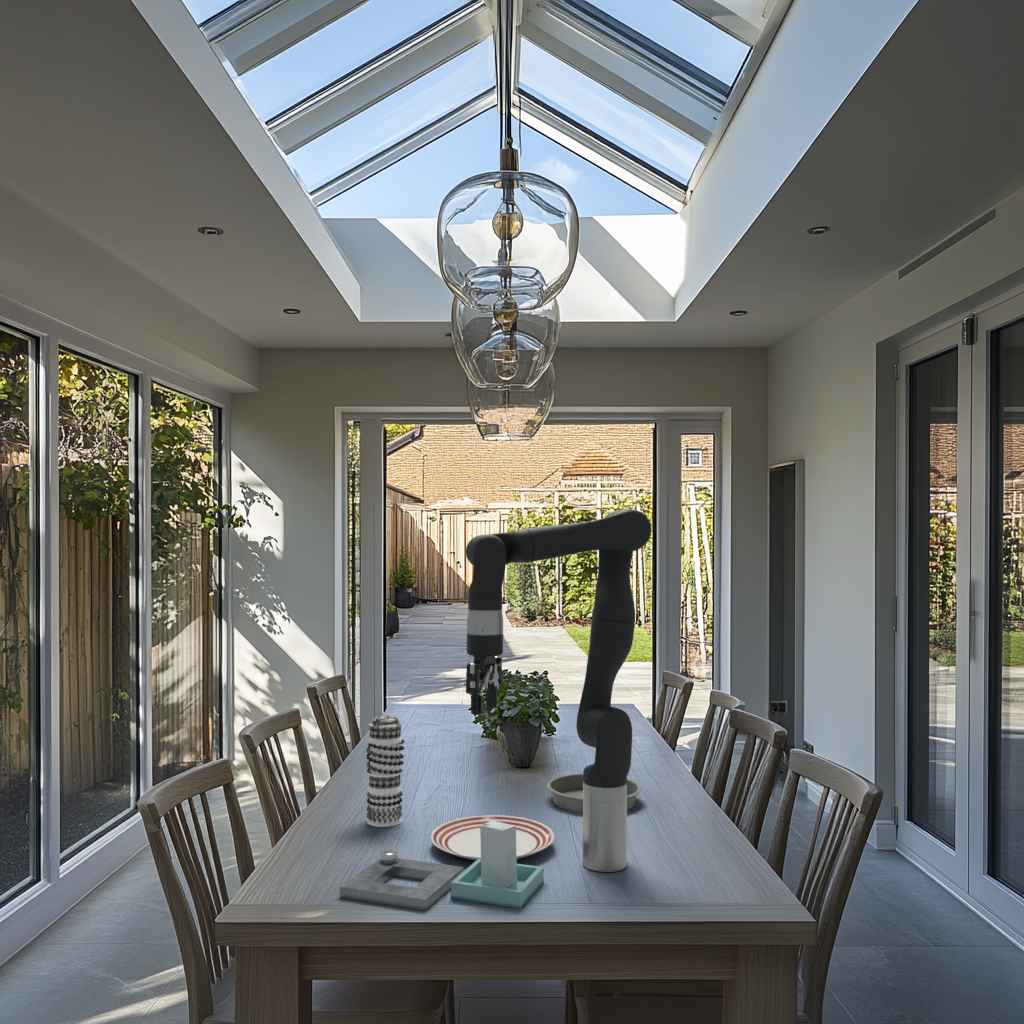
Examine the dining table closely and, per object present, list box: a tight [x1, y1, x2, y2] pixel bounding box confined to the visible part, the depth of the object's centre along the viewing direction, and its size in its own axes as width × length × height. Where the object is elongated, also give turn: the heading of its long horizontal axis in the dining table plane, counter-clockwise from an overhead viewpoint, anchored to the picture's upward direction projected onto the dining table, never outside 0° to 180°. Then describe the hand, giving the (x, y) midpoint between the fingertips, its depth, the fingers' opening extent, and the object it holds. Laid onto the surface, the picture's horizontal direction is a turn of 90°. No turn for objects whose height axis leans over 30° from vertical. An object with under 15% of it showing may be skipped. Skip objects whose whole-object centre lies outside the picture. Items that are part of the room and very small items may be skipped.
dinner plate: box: [430, 814, 555, 861], centre depth 202 cm, size 28×27×3 cm
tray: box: [450, 859, 545, 910], centre depth 177 cm, size 14×14×3 cm
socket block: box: [339, 849, 465, 911], centre depth 179 cm, size 18×18×4 cm
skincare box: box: [480, 821, 518, 889], centre depth 177 cm, size 6×4×12 cm
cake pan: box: [546, 773, 642, 813], centre depth 239 cm, size 25×25×4 cm
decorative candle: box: [365, 715, 405, 828], centre depth 221 cm, size 9×9×25 cm
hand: (484, 710), depth 187 cm, fingers open, 8 cm apart
